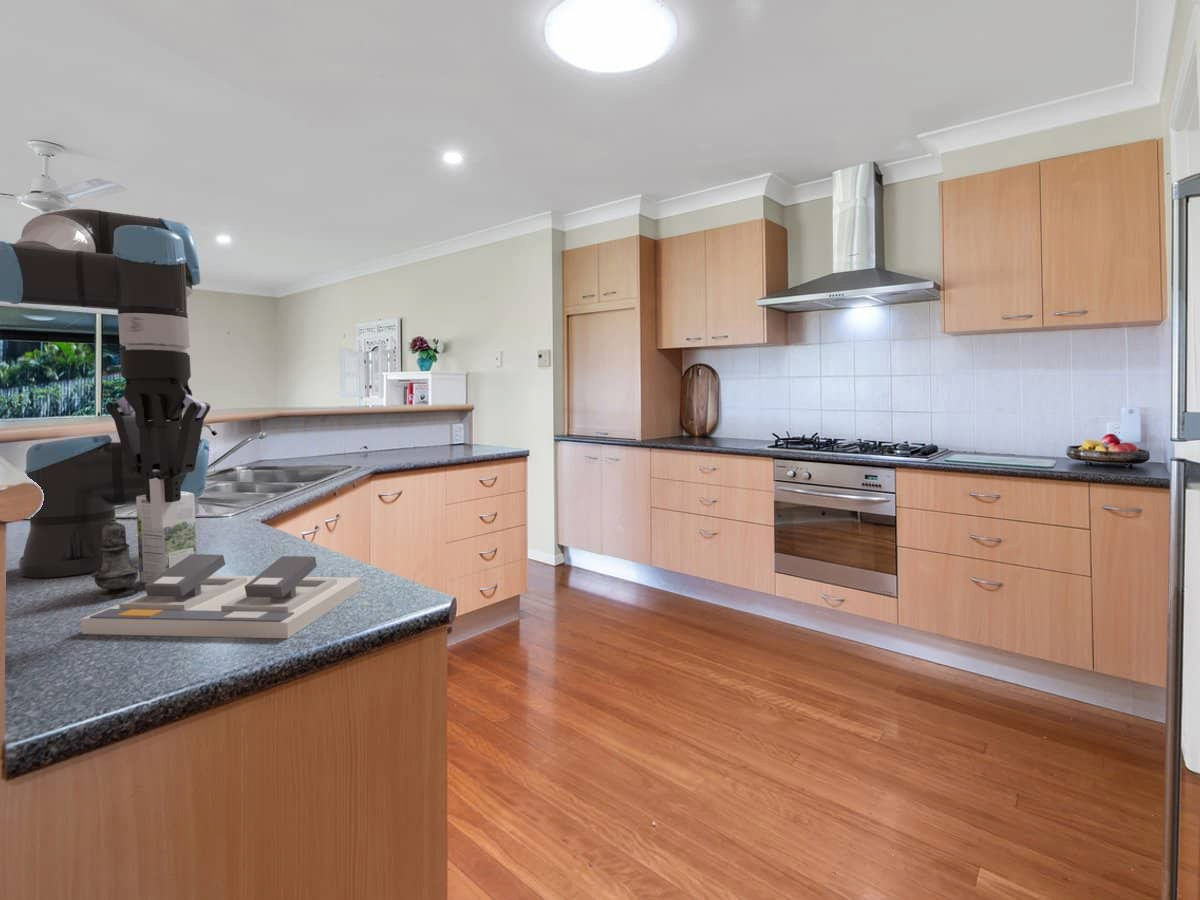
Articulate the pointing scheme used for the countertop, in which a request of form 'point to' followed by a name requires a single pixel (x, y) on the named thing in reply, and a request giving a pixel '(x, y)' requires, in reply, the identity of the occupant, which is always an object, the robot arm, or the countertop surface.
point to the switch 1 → (185, 575)
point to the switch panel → (224, 610)
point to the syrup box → (164, 538)
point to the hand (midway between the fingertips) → (165, 525)
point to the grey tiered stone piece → (115, 564)
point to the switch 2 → (280, 576)
